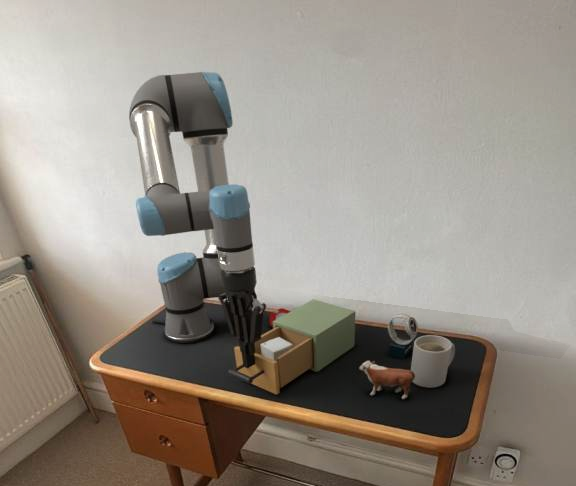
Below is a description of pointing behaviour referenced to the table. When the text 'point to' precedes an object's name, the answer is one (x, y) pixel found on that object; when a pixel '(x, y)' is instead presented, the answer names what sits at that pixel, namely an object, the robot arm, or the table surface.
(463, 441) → the table surface
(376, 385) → the bull figurine
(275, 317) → the tracker holder
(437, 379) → the mug
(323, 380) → the table surface
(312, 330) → the cabinet
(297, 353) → the drawer
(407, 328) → the watch
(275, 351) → the product box
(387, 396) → the table surface
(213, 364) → the table surface
